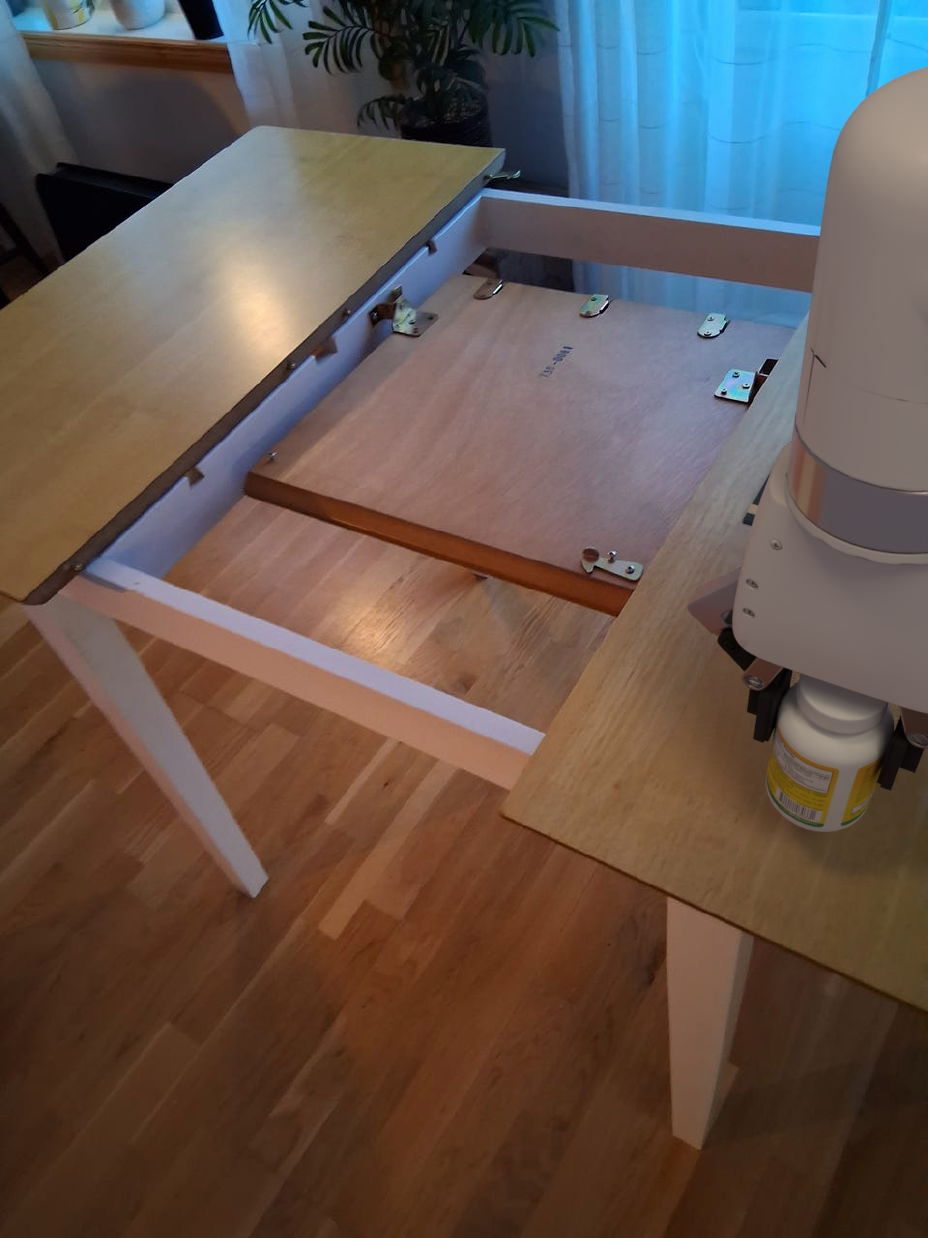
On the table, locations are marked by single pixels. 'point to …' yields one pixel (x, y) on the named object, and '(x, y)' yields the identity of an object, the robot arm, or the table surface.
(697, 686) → the table surface
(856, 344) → the robot arm
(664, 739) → the table surface
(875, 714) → the supplement bottle
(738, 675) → the table surface
